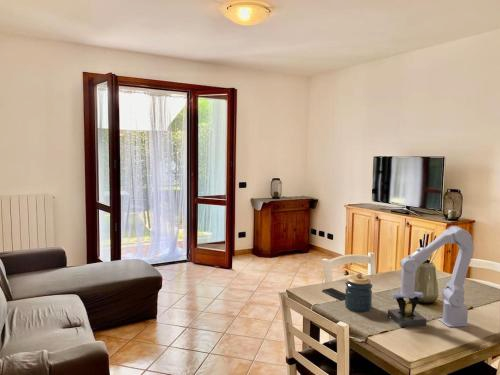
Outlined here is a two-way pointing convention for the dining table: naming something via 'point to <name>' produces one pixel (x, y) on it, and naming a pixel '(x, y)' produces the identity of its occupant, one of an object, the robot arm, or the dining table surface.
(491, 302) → the dining table surface
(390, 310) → the grey square socket block
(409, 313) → the piston
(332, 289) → the phone
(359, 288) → the canister
